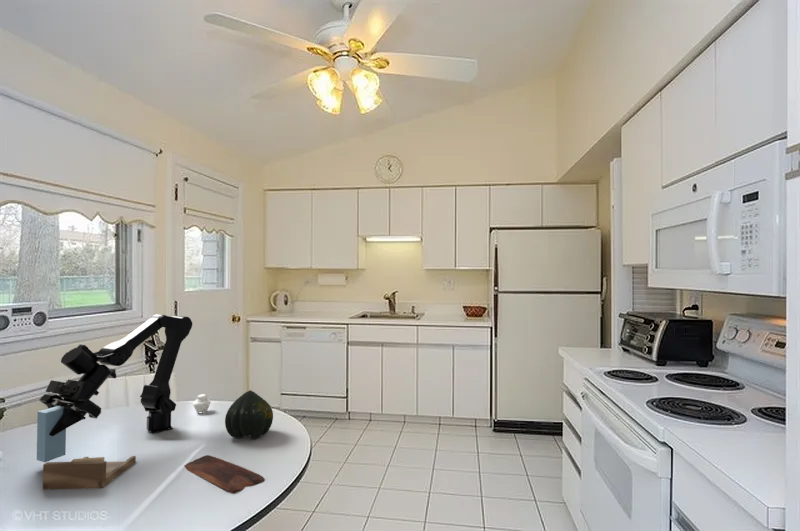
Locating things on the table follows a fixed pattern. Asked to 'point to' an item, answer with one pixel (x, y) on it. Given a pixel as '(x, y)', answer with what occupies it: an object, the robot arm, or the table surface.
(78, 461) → the offcut upper
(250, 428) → the squash
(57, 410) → the light blue block
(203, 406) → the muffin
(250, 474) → the wooden tablet
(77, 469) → the tray
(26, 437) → the table surface
